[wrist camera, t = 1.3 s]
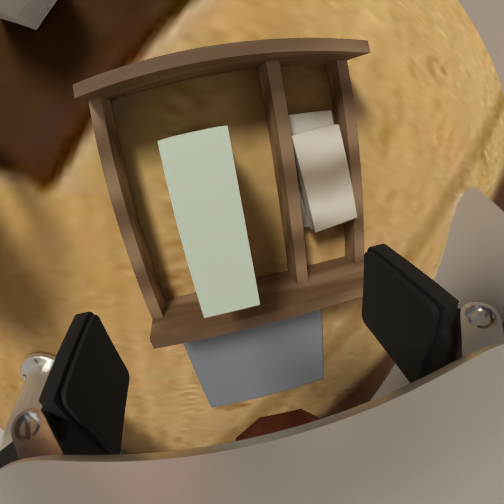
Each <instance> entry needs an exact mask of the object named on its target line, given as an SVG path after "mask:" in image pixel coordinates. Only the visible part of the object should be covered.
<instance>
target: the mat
mask: <svg viewBox="0 0 504 504" xmlns="http://www.w3.org/2000/svg"><path fill="white" fill-rule="evenodd" d="M184 345H185V348H186V350H187V353H188V355H189V358H190V360H191V362H192V365H193V367H194V369H195V372H196V374H197V376H198V379H199V381H200V383H201V385H202V388H203V390H204V392H205V394H206V397H207V399H208V401H209V403H210V405H211V407H212V408H213V407H218V406H223V405H228V404H232V403H237V402H241V401H246V400H250V399H254V398H258V397H262V396H266V395H270V394H274V393H277V392H281V391H285V390H288V389H292V388H295V387H298V386H302V385H305V384H308V383H311V382H315V381H318V380H321V379H323V351H322V318H321V309H319V310H316V311H312V312H309V313H305V314H302V315H298V316H294V317H291V318H287V319H283V320H280V321H276V322H272V323H268V324H264V325H260V326H256V327H252V328H248V329H244V330H240V331H236V332H232V333H227V334H223V335H219V336H214V337H210V338H205V339H200V340H196V341H191V342H186V343H184Z"/></svg>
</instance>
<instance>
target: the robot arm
mask: <svg viewBox="0 0 504 504" xmlns="http://www.w3.org/2000/svg"><path fill="white" fill-rule="evenodd" d="M458 302H459V301H458V300H457V299H456V298H454V297H453V296H452V295H451V294H449V293H448V292H447V291H446V290H445V289H443V288H442V287H441V286H440V285H438V284H437V283H436V282H435V281H433V280H432V279H431V278H430V277H428V276H427V275H426V274H424V273H423V272H422V271H421V270H419V269H418V268H417V267H415V266H414V265H413V264H411V263H410V262H409V261H407V260H406V259H405V258H403V257H402V256H401V255H399V254H398V253H397V252H395V251H394V250H392V249H391V248H390V247H388V246H387V245H385V244H380V245H376V246H372V247H369V248H368V251H367V252H366V253H365V254H364V278H363V304H362V318H363V321H364V323H365V324H366V326H367V327H368V328H369V329H370V331H371V332H372V333H373V335H374V336H375V337H376V338H377V340H378V341H379V342H380V344H381V345H382V346H383V347H384V349H385V350H386V351H387V353H388V354H389V355H390V357H391V358H392V359H393V361H394V362H395V363H396V364H397V366H398V367H399V368H400V370H401V371H402V372H403V374H404V375H405V376H406V378H407V379H408V380H409V382H410V384H408V385H406V386H404V387H402V388H400V389H397V390H395V391H393V392H390V393H388V394H386V395H384V396H381V397H379V398H376V399H374V400H372V401H369V402H367V403H364V404H362V405H359V406H356V407H354V408H351V409H348V410H346V411H343V412H340V413H337V414H334V415H331V416H328V417H325V418H322V419H319V420H316V421H313V422H310V423H307V424H303V425H300V426H296V427H293V428H289V429H286V430H282V431H278V432H274V433H270V434H266V435H262V436H258V437H253V438H249V439H244V440H239V441H234V442H229V443H224V444H218V445H212V446H206V447H199V448H192V449H184V450H176V451H166V452H155V453H141V454H120V451H121V440H122V431H123V422H124V414H125V406H126V399H127V392H128V385H129V373H128V370H127V368H126V366H125V365H124V363H123V361H122V359H121V358H120V356H119V354H118V352H117V351H116V349H115V347H114V345H113V343H112V341H111V340H110V338H109V336H108V334H107V332H106V330H105V328H104V326H103V324H102V322H101V320H100V318H99V317H98V316H97V315H94V314H93V313H92V312H86V313H81V314H77V315H75V317H74V319H73V321H72V323H71V325H70V327H69V329H68V332H67V334H66V336H65V338H64V340H63V342H62V345H61V347H60V349H59V351H58V354H57V356H53V355H50V354H45V353H34V354H30V355H28V356H27V357H26V358H25V359H24V361H23V363H22V365H21V375H22V378H23V380H24V384H23V386H22V388H21V391H20V393H19V395H18V398H17V400H16V403H15V405H14V408H13V410H12V413H11V415H10V418H9V421H8V423H7V426H6V429H5V432H4V435H3V438H2V441H1V444H0V504H504V323H502V322H501V318H500V315H499V313H498V312H497V311H496V310H495V309H494V308H493V307H491V306H490V305H487V304H485V303H480V302H472V303H468V304H466V305H465V306H463V308H462V309H461V310H460V309H459V308H458V307H457V306H458Z"/></svg>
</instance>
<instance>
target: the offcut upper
mask: <svg viewBox="0 0 504 504" xmlns="http://www.w3.org/2000/svg"><path fill="white" fill-rule="evenodd" d="M291 136H292V143H293V150H294V157H295V164H296V172H297V180H298V185H299V189H300V193H301V197H302V201H303V205H304V209H305V213H306V218H307V222H308V226H309V227H310V228H311V229H312V230H313V231H314V232H315V233H316V232H318V231H321V230H324V229H327V228H330V227H332V226H335V225H338V224H341V223H343V222H346V221H349V220H352V219H354V218H357V213H356V206H355V200H354V195H353V189H352V184H351V178H350V173H349V168H348V163H347V158H346V154H345V149H344V145H343V140H342V136H341V132H340V127H339V125H338V124H329V125H325V126H321V127H317V128H313V129H309V130H305V131H301V132H297V133H293V134H291Z"/></svg>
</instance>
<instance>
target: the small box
mask: <svg viewBox="0 0 504 504" xmlns="http://www.w3.org/2000/svg"><path fill="white" fill-rule="evenodd" d="M56 2H57V0H0V18H1V19H4V20H7V21H11V22H14V23H17V24H20V25H23V26H26V27H29V28H32V29H34V30H37V29H38V27H39V26H40V24H41V23H42V21H43V20H44V18H45V17H46V16H47V14H48V13H49V11H50V10H51V8H52V7H53V6H54V4H55V3H56Z"/></svg>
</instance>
